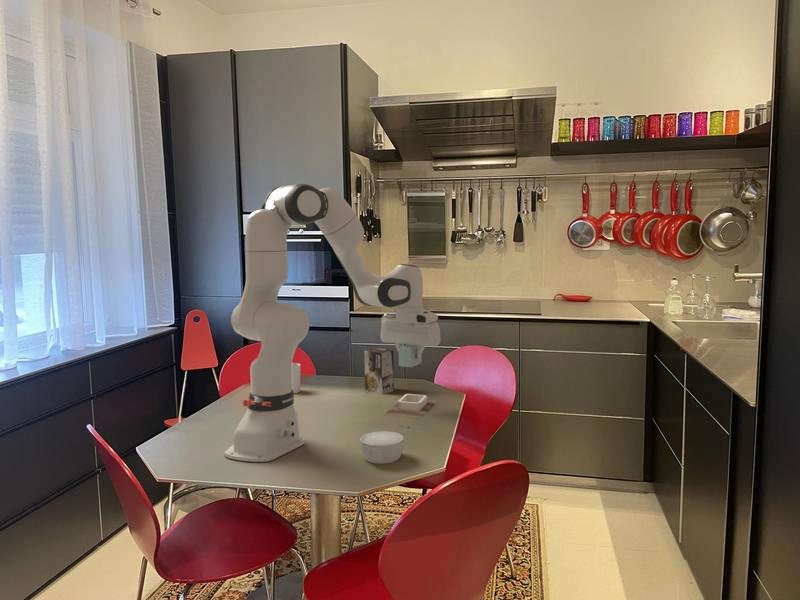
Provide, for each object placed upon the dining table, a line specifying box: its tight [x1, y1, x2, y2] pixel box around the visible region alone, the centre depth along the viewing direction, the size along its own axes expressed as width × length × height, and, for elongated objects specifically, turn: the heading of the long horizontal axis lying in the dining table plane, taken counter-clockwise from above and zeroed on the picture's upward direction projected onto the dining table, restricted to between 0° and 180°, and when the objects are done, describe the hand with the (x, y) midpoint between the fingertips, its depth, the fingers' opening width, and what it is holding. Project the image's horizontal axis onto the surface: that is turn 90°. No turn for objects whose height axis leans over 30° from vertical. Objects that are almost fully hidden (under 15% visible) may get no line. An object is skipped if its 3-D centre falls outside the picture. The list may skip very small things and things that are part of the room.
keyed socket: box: [396, 393, 429, 411], centre depth 195 cm, size 10×8×2 cm
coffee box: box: [363, 347, 395, 395], centre depth 214 cm, size 9×6×16 cm
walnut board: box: [383, 399, 437, 419], centre depth 193 cm, size 20×12×1 cm, turn 163°
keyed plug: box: [397, 344, 423, 368], centre depth 190 cm, size 4×7×6 cm, turn 150°
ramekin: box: [359, 430, 405, 465], centre depth 152 cm, size 11×11×5 cm
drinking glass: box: [292, 362, 301, 394], centre depth 218 cm, size 7×7×10 cm
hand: (410, 357), depth 190 cm, fingers closed on keyed plug, 4 cm apart
